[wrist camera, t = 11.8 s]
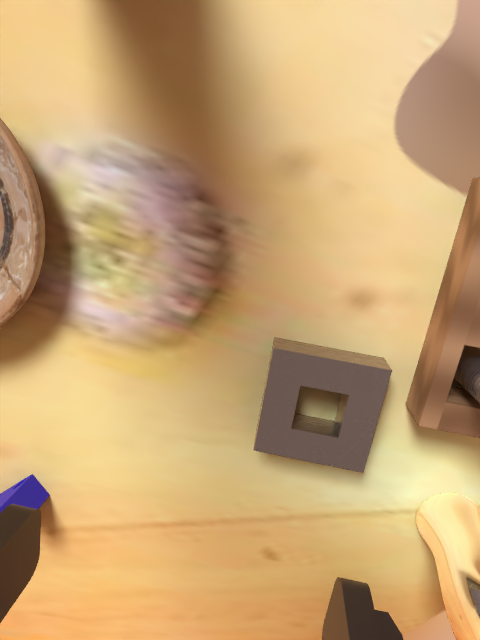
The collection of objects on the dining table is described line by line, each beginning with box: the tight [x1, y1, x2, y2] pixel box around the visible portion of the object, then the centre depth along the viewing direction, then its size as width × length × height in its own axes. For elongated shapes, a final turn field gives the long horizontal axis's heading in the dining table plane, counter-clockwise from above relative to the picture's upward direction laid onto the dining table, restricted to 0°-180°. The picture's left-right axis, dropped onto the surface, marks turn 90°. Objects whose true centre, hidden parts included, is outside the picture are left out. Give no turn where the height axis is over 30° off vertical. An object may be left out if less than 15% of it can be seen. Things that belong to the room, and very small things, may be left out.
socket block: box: [254, 338, 392, 473], centre depth 38 cm, size 10×10×3 cm
